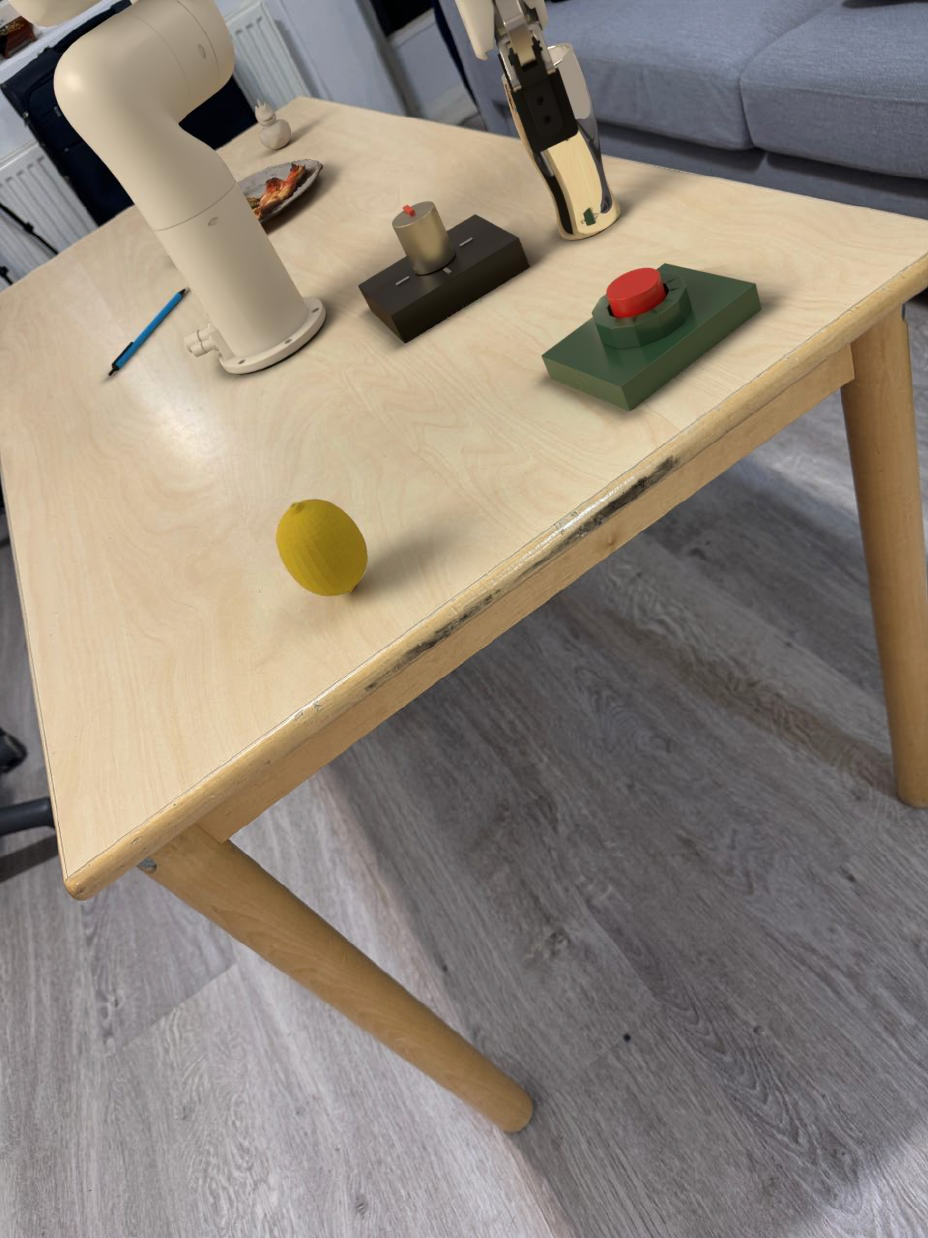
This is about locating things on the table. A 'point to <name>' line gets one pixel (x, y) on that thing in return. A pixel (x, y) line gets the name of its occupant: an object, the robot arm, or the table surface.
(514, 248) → the panel
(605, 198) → the beer glass
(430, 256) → the knob
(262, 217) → the food plate
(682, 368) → the switchbox
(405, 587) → the table surface
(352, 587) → the lemon
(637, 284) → the button
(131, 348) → the pen
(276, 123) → the rubber duck
